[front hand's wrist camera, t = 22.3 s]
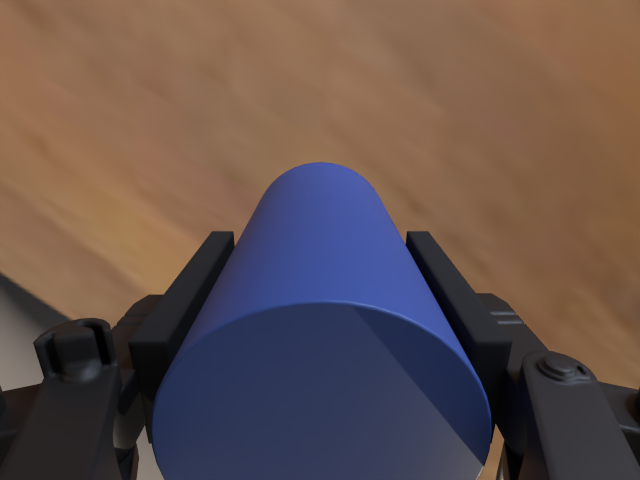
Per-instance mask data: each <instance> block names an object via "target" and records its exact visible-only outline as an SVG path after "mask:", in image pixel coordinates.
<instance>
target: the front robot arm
mask: <svg viewBox="0 0 640 480" xmlns="http://www.w3.org/2000/svg"><path fill="white" fill-rule="evenodd" d="M406 247H407V249H408V250H409V252H410V254H411V256H412V258H413V260H414V261H415V263H416V265H417V267H418V269H419V270H420V272H421V274H422V276H423V278H424V280H425V281H426V283H427V285H428V287H429V289H430V290H431V292H432V294H433V296H434V298H435V299H436V301H437V303H438V305H439V307H440V309H441V310H442V312H443V314H444V316H445V318H446V319H447V321H448V323H449V325H450V327H451V329H452V330H453V332H454V334H455V336H456V338H457V339H458V341H459V343H460V345H461V347H462V348H463V350H464V352H465V354H466V356H467V358H468V359H469V361H470V363H471V365H472V367H473V368H474V370H475V372H476V374H477V376H478V378H479V379H480V381H481V384H482V386H483V389H484V391H485V394H486V396H487V399H488V404H489V408H490V413H491V430H492V434H491V441H490V443H492V438H493V433H494V429H495V424H496V425H497V427H498V429H499V430H500V432H501V434H502V436H503V438H504V444H503V448H502V453H501V457H500V462H499V466H498V471H497V476H496V480H502V478H503V477H504V480H640V388H639V390H636V389H632V388H627V387H622V386H617V385H612V384H607V383H603V382H599V381H598V380H597V378H596V377H595V376H594V374H593V373H592V372H591V370H590V369H589V368H587V367H586V366H585V365H583V364H582V363H580V362H579V361H577V360H575V359H573V358H571V357H569V356H567V355H564V354H560V353H556V352H553V351H549V350H548V349H547V348H546V347H545V346H544V344H543V343H542V342H541V341H540V340H539V339H538V338H537V337H536V335H535V334H534V333H533V332H532V331H531V330H530V329H529V327H528V326H527V325H526V324H524V322H523V321H522V319H521V318H520V317H519V316H518V315H516V313H515V312H514V310H513V309H512V308H511V307H510V306H509V305H508V304H507V302H505V301H503V300H502V299H500V298H498V297H497V296H495V295H493V294H492V293H475V292H474V291H473V289H472V288H471V287H470V285H469V284H468V283H467V281H466V280H465V279H464V278H463V276H462V275H461V274H460V272H459V271H458V270H457V268H456V267H455V266H454V265H453V263H452V262H451V261H450V259H449V258H448V257H447V255H446V254H445V253H444V251H443V250H442V249H441V248H440V246H439V245H438V244H437V242H436V241H435V240H434V238H433V237H432V236H431V235H430V233H429V232H428V231H407V237H406ZM234 248H235V245H234V234H233V231H212V232H211V234H210V235H209V236H208V238H207V239H206V240H205V241H204V243H203V244H202V245H201V247H200V248H199V249H198V251H197V252H196V253H195V254H194V256H193V257H192V258H191V260H190V261H189V262H188V264H187V265H186V266H185V268H184V269H183V270H182V271H181V273H180V274H179V275H178V277H177V278H176V279H175V281H174V282H173V283H172V284H171V286H170V287H169V288H168V290H167V291H166V292H165V294H164V295H148V296H146V297H144V298H143V299H141V300H140V301H138V302H136V303H135V304H133V306H132V307H131V308H130V309H129V310H128V311H127V312H126V314H125V317H122V318H121V319H120V320H119V322H118V323H117V326H114V327H113V328H112V330H111V328H110V324H109V323H107V322H106V321H105V320H102V319H97V318H85V319H77V320H73V321H69V322H65V323H63V324H60V325H58V326H55V327H53V328H51V329H49V330H48V331H46V332H44V333H43V334H41V335H40V336H39V337H38V338H37V339H36V340H35V341H34V342H33V344H34V347H35V350H36V353H37V357H38V360H39V363H40V366H41V369H42V373H43V376H44V379H43V381H42V383H40V384H37V385H32V386H27V387H22V388H17V389H13V390H8V391H3V392H2V389H1V386H0V480H136V478H137V470H138V462H139V455H138V448H137V444H136V441H137V439H138V437H139V435H140V433H141V431H142V429H143V427H144V425H145V427H146V432H147V437H148V441H149V443H152V439H151V416H152V409H153V405H154V401H155V397H156V394H157V391H158V389H159V387H160V385H161V382H162V380H163V378H164V376H165V374H166V372H167V371H168V369H169V367H170V365H171V363H172V361H173V360H174V358H175V356H176V354H177V352H178V350H179V349H180V347H181V345H182V343H183V341H184V339H185V338H186V336H187V334H188V332H189V330H190V328H191V327H192V325H193V323H194V321H195V319H196V317H197V316H198V314H199V312H200V310H201V308H202V306H203V305H204V303H205V301H206V299H207V297H208V295H209V294H210V292H211V290H212V288H213V286H214V284H215V283H216V281H217V279H218V277H219V275H220V273H221V272H222V270H223V268H224V266H225V264H226V262H227V261H228V259H229V257H230V255H231V253H232V251H233V250H234Z"/></svg>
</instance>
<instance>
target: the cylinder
mask: <svg viewBox="0 0 640 480" xmlns="http://www.w3.org/2000/svg"><path fill="white" fill-rule="evenodd" d="M491 434H492V430H491V413H490V408H489V404H488V399H487V396H486V394H485V391H484V389H483V386H482V384H481V381H480V379H479V378H478V376H477V374H476V372H475V370H474V368H473V367H472V365H471V363H470V361H469V359H468V358H467V356H466V354H465V352H464V350H463V348H462V347H461V345H460V343H459V341H458V339H457V338H456V336H455V334H454V332H453V330H452V329H451V327H450V325H449V323H448V321H447V319H446V318H445V316H444V314H443V312H442V310H441V309H440V307H439V305H438V303H437V301H436V299H435V298H434V296H433V294H432V292H431V290H430V289H429V287H428V285H427V283H426V281H425V280H424V278H423V276H422V274H421V272H420V270H419V269H418V267H417V265H416V263H415V261H414V260H413V258H412V256H411V254H410V252H409V250H408V249H407V247H406V245H405V243H404V241H403V240H402V238H401V236H400V234H399V232H398V230H397V229H396V227H395V225H394V223H393V221H392V220H391V218H390V216H389V214H388V212H387V211H386V209H385V207H384V205H383V203H382V201H381V200H380V198H379V196H378V194H377V193H376V191H375V190H374V188H373V187H372V186H371V185H370V183H369V182H368V181H366V180H365V179H364V178H363V177H362V176H360V175H359V174H358V173H356V172H354V171H353V170H351V169H349V168H346V167H343V166H341V165H337V164H332V163H322V162H320V163H309V164H304V165H301V166H298V167H295V168H293V169H291V170H289V171H287V172H285V173H284V174H282V175H281V176H279V177H278V178H277V179H276V180H275V181H274V182H273V183H272V184H271V185H270V186H269V187H268V189H267V190H266V192H265V193H264V195H263V197H262V198H261V200H260V202H259V204H258V206H257V208H256V209H255V211H254V213H253V215H252V217H251V219H250V220H249V222H248V224H247V226H246V228H245V229H244V231H243V233H242V235H241V237H240V239H239V240H238V242H237V244H236V246H235V248H234V250H233V251H232V253H231V255H230V257H229V259H228V261H227V262H226V264H225V266H224V268H223V270H222V272H221V273H220V275H219V277H218V279H217V281H216V283H215V284H214V286H213V288H212V290H211V292H210V294H209V295H208V297H207V299H206V301H205V303H204V305H203V306H202V308H201V310H200V312H199V314H198V316H197V317H196V319H195V321H194V323H193V325H192V327H191V328H190V330H189V332H188V334H187V336H186V338H185V339H184V341H183V343H182V345H181V347H180V349H179V350H178V352H177V354H176V356H175V358H174V360H173V361H172V363H171V365H170V367H169V369H168V371H167V372H166V374H165V376H164V378H163V380H162V382H161V385H160V387H159V389H158V391H157V394H156V397H155V401H154V405H153V409H152V416H151V439H152V448H153V451H154V455H155V458H156V462H157V465H158V467H159V469H160V471H161V474H162V476H163V478H164V480H478V478H479V476H480V474H481V472H482V470H483V468H484V466H485V462H486V459H487V456H488V453H489V449H490V441H491Z"/></svg>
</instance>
